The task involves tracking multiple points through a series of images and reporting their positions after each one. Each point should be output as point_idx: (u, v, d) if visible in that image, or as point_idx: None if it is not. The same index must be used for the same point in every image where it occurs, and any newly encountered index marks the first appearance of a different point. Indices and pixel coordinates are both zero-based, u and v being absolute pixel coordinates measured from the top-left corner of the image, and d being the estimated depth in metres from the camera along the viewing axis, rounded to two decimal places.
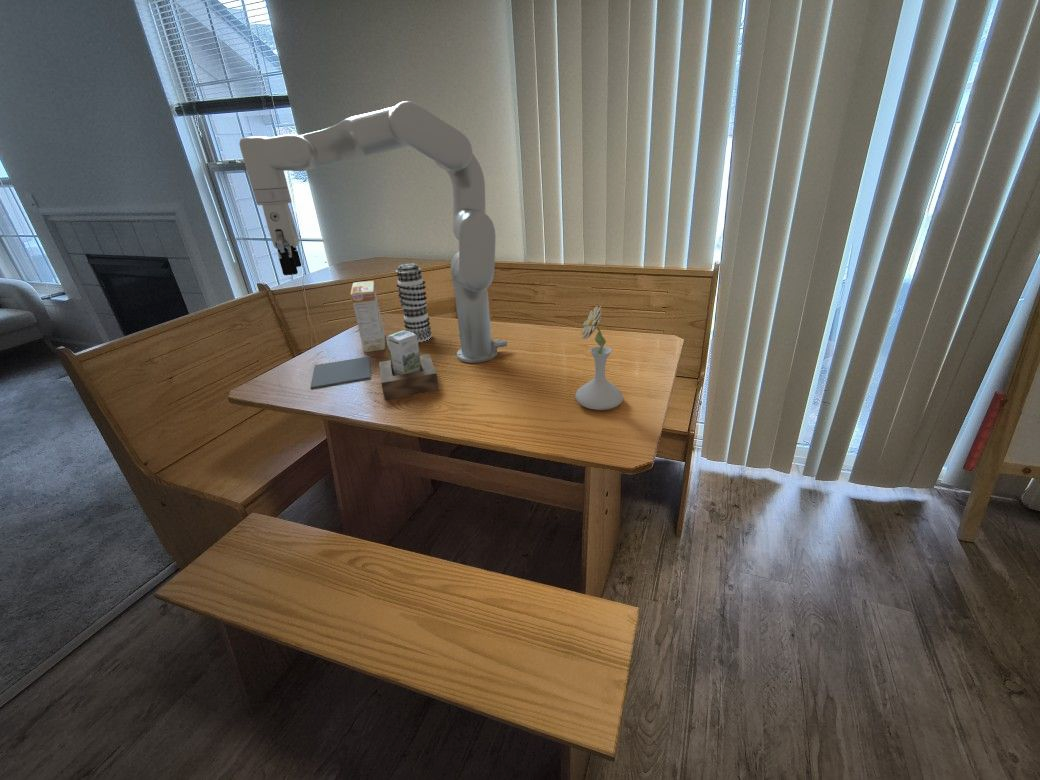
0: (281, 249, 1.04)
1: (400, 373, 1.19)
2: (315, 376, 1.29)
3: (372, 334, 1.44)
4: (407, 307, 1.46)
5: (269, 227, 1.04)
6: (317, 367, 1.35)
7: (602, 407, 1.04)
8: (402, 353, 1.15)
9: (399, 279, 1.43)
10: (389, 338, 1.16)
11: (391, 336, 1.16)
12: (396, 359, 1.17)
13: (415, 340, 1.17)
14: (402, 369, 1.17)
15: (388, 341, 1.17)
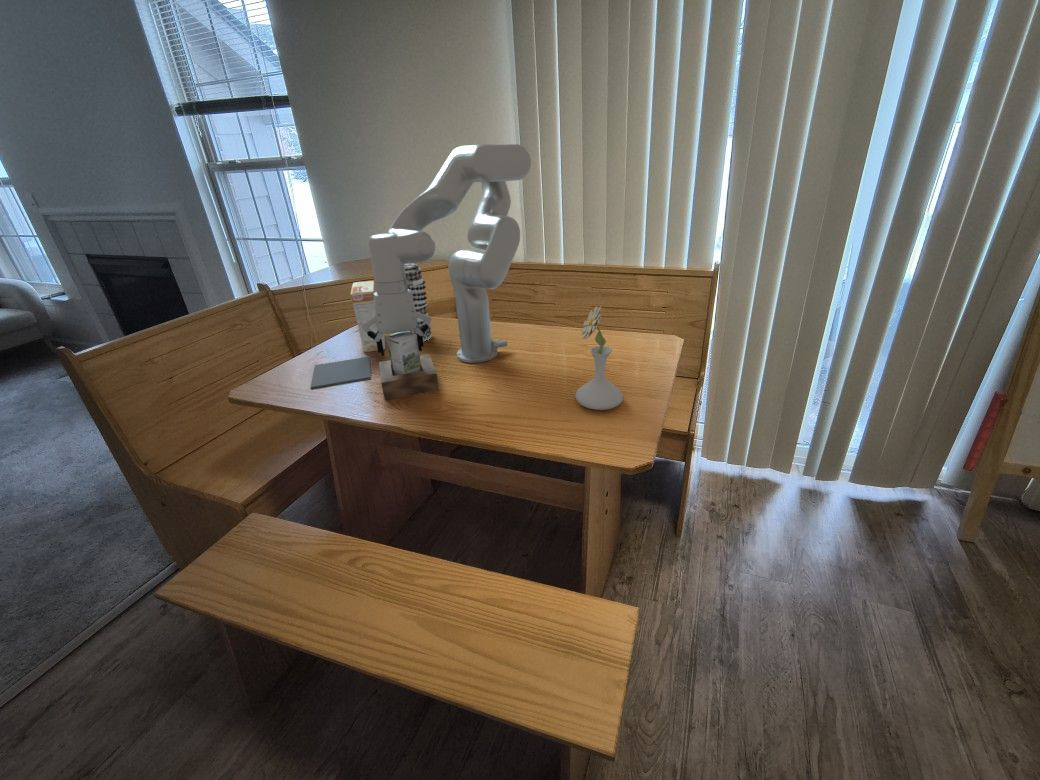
0: None
1: (400, 373, 1.19)
2: (315, 376, 1.29)
3: None
4: None
5: (415, 310, 1.13)
6: (317, 367, 1.35)
7: (602, 407, 1.04)
8: (402, 353, 1.15)
9: None
10: (389, 338, 1.16)
11: (391, 336, 1.16)
12: (396, 359, 1.17)
13: (415, 340, 1.17)
14: (402, 369, 1.17)
15: (388, 341, 1.17)
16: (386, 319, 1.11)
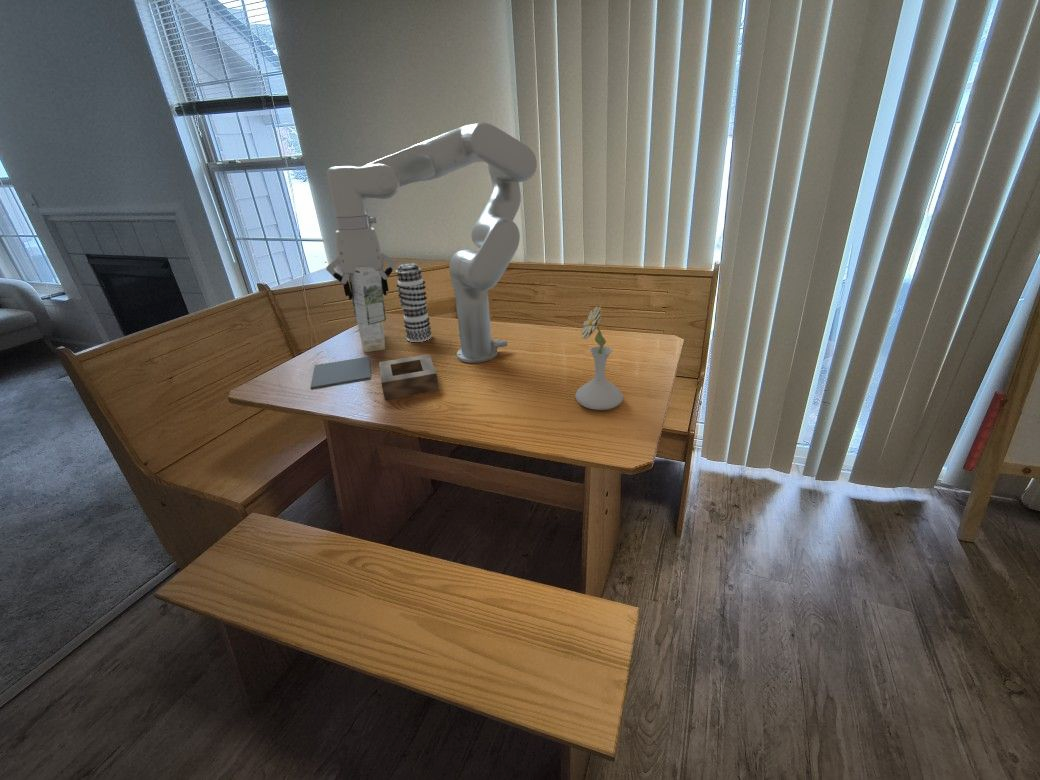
0: None
1: (361, 306, 1.13)
2: (315, 376, 1.29)
3: (372, 334, 1.44)
4: (407, 307, 1.46)
5: (379, 249, 1.10)
6: (317, 367, 1.35)
7: (602, 407, 1.04)
8: (363, 283, 1.10)
9: (399, 279, 1.43)
10: None
11: None
12: (357, 291, 1.12)
13: (378, 272, 1.12)
14: (363, 302, 1.12)
15: None
16: (349, 257, 1.08)
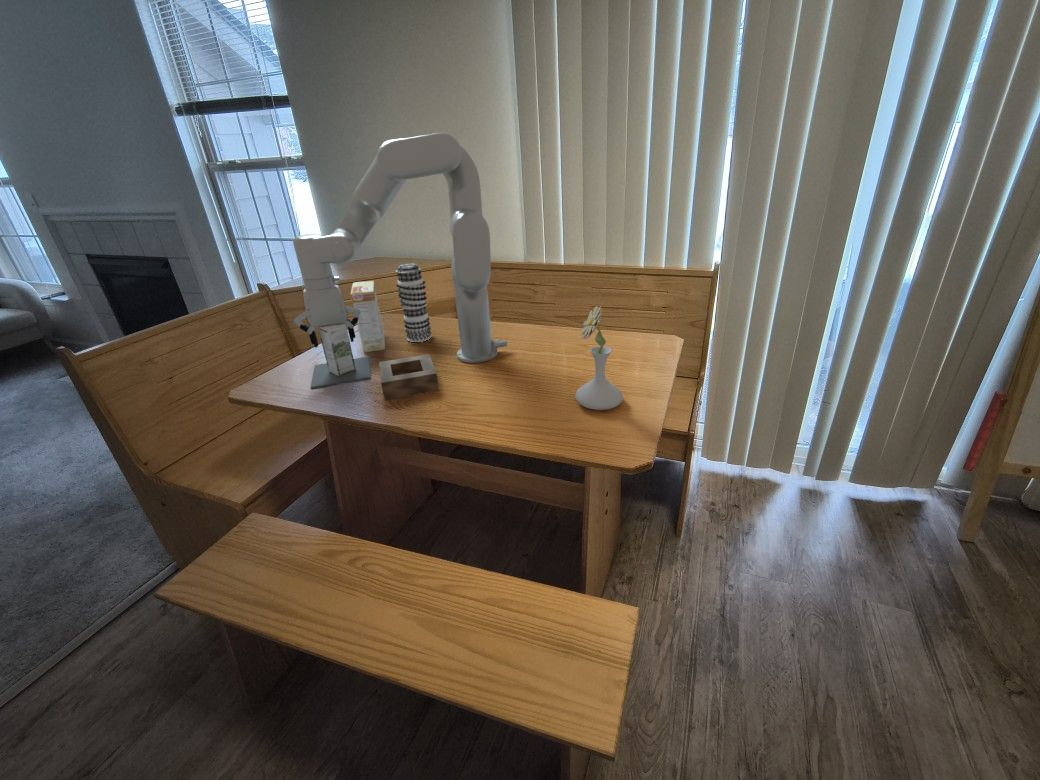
0: (358, 317, 1.27)
1: (331, 360, 1.27)
2: (315, 376, 1.29)
3: (372, 334, 1.44)
4: (407, 307, 1.46)
5: (343, 304, 1.23)
6: (317, 367, 1.35)
7: (602, 407, 1.04)
8: (331, 341, 1.24)
9: (399, 279, 1.43)
10: (320, 327, 1.24)
11: None
12: (327, 347, 1.26)
13: (345, 329, 1.26)
14: (332, 356, 1.26)
15: (319, 330, 1.25)
16: (316, 313, 1.21)
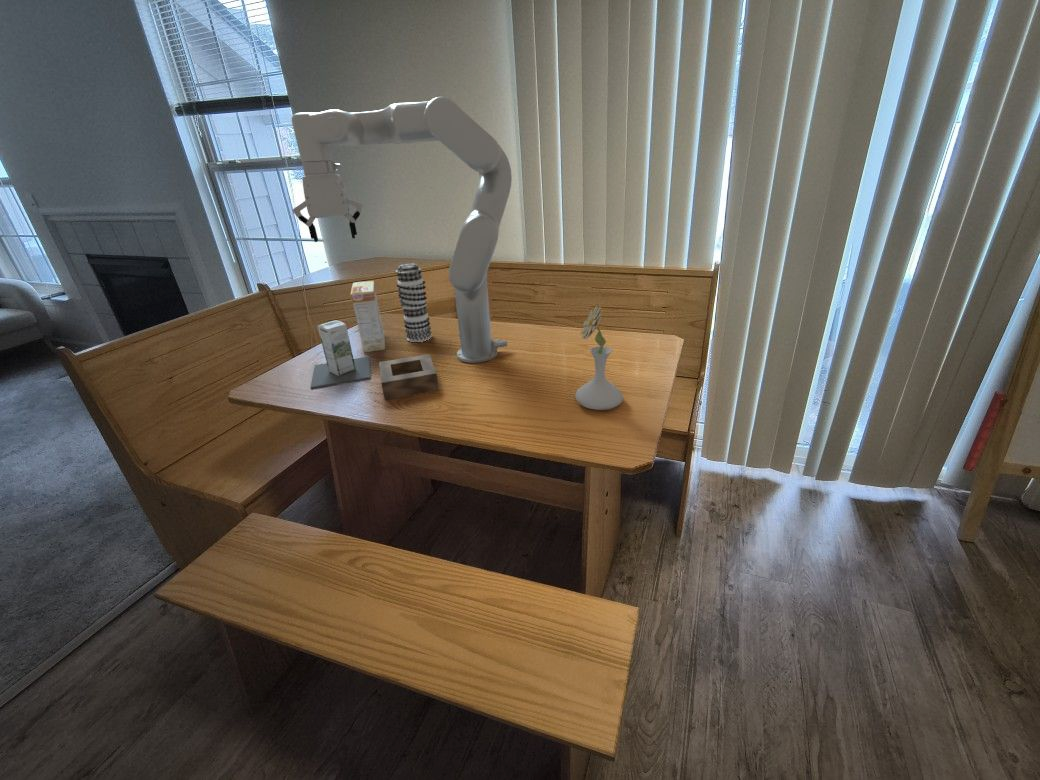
0: None
1: (331, 360, 1.27)
2: (315, 376, 1.29)
3: (372, 334, 1.44)
4: (407, 307, 1.46)
5: (344, 194, 1.17)
6: (317, 367, 1.35)
7: (602, 407, 1.04)
8: (331, 341, 1.24)
9: (399, 279, 1.43)
10: (320, 327, 1.24)
11: (321, 325, 1.24)
12: (327, 347, 1.26)
13: (345, 329, 1.26)
14: (332, 356, 1.26)
15: (319, 330, 1.25)
16: (315, 202, 1.15)
